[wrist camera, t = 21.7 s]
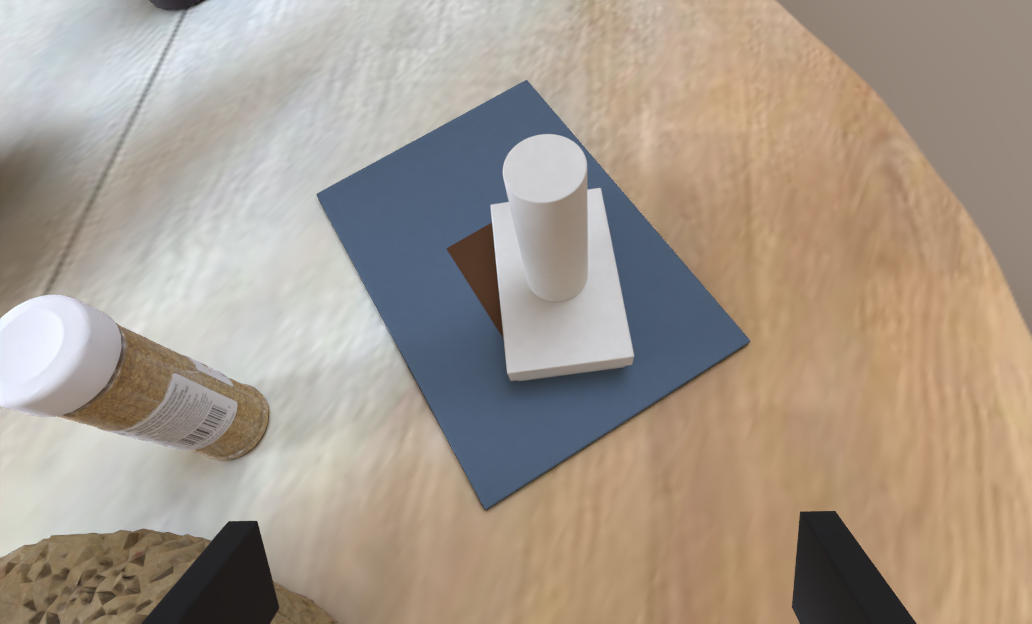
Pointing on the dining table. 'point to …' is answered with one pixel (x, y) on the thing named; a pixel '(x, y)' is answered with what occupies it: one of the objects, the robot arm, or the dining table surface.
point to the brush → (556, 266)
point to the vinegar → (174, 4)
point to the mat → (476, 303)
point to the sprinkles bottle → (121, 381)
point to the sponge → (111, 579)
